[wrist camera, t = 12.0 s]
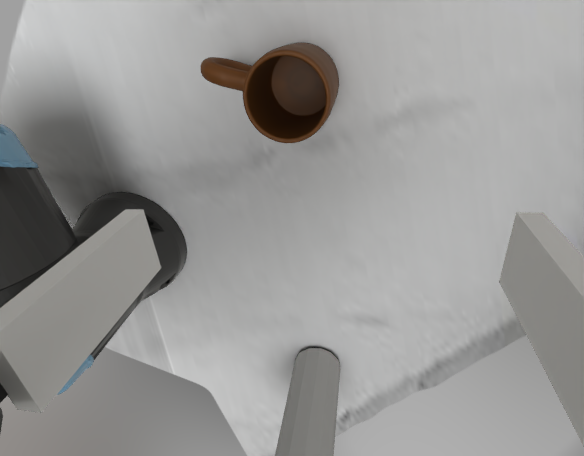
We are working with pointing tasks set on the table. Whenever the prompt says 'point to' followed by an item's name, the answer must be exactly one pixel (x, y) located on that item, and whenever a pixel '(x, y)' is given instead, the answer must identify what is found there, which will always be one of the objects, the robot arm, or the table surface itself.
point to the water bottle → (311, 406)
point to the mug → (282, 89)
